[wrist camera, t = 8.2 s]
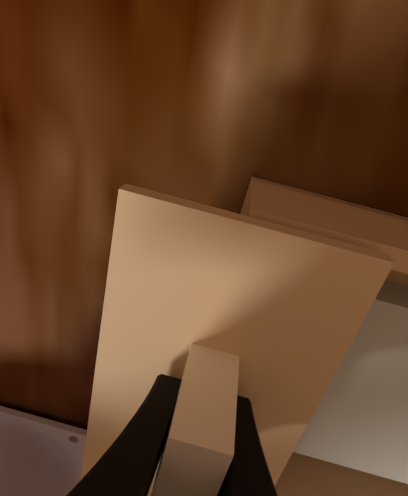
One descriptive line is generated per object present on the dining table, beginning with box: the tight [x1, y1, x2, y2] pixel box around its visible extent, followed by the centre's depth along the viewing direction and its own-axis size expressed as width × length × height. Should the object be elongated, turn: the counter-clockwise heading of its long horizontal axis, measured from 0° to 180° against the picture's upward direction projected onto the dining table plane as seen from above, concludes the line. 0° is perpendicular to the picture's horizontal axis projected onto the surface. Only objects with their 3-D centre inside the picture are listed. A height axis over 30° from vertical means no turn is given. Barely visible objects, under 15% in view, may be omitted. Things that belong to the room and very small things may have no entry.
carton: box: [240, 176, 408, 496], centre depth 13 cm, size 14×12×4 cm
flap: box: [80, 184, 394, 496], centre depth 10 cm, size 7×12×4 cm, turn 167°
